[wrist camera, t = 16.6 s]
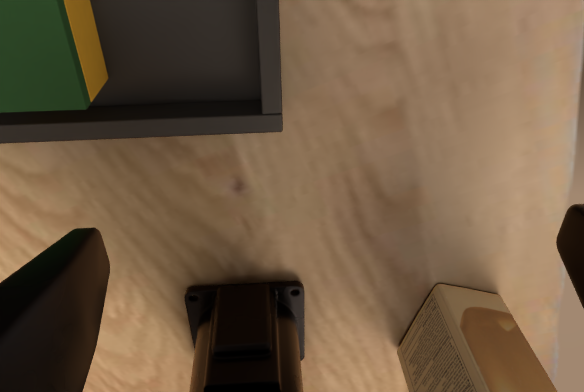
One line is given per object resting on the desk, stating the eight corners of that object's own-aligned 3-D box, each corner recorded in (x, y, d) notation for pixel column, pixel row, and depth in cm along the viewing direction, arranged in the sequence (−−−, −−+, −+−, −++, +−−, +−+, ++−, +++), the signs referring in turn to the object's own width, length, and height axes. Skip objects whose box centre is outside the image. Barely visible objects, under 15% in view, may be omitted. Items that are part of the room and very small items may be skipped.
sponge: (66, -100, 15) (30, -94, 13) (109, 78, 19) (86, 109, 16) (-60, -98, 15) (-122, -92, 13) (5, 82, 19) (-33, 114, 16)
